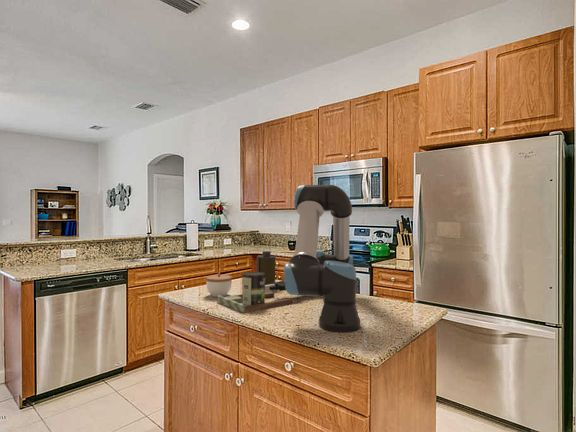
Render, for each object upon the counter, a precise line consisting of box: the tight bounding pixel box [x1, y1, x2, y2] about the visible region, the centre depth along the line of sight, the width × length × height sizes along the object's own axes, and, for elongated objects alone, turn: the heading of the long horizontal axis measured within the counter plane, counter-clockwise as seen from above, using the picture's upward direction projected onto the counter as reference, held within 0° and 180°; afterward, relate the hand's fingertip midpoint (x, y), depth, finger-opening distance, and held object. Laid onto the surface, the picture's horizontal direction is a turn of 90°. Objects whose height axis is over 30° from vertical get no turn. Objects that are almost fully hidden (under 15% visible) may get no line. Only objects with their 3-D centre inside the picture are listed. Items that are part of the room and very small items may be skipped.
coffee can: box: [241, 271, 266, 306], centre depth 162 cm, size 10×10×14 cm
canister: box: [256, 250, 276, 285], centre depth 198 cm, size 11×10×20 cm
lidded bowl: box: [205, 272, 233, 298], centre depth 180 cm, size 13×13×11 cm
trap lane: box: [217, 291, 294, 314], centre depth 165 cm, size 22×27×3 cm
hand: (262, 288), depth 165 cm, fingers closed
